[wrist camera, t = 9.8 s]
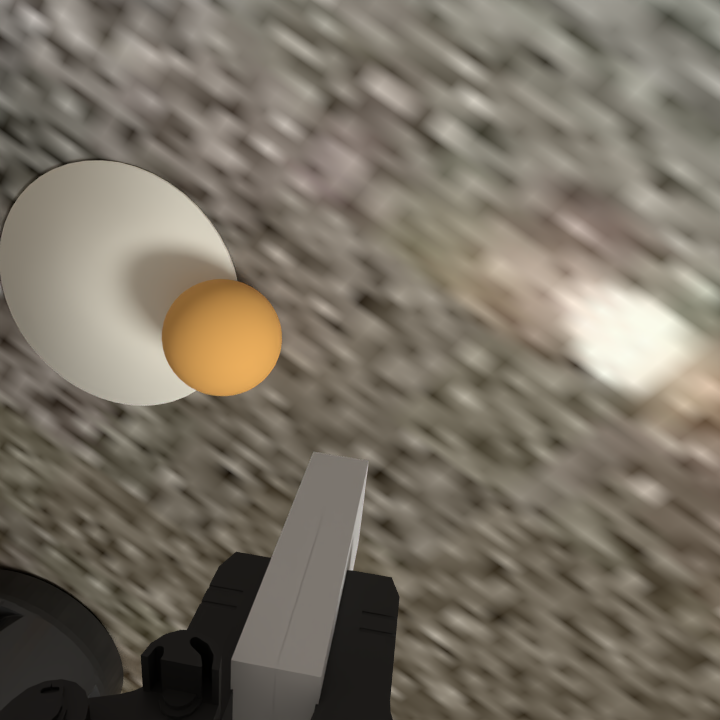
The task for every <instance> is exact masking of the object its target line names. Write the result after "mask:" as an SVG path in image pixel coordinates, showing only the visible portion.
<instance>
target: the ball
mask: <svg viewBox="0 0 720 720" xmlns="http://www.w3.org/2000/svg"><path fill="white" fill-rule="evenodd" d="M281 344H282V332H281V326H280V322H279V319H278V316H277V314H276V312H275V310H274V308H273V307H272V305H271V304H270V302H269V301H268V300H267V299H266V298H265V297H264V296H263V295H262V294H261V293H260V292H258V291H257V290H256V289H254V288H252V287H251V286H249V285H247V284H244V283H241V282H238V281H234V280H229V279H213V280H208V281H204V282H201V283H198V284H196V285H194V286H192V287H190V288H189V289H187V290H186V291H184V292H183V293H182V294H181V295H180V296H179V297H178V298H177V299H176V300H175V301H174V302H173V304H172V305H171V307H170V308H169V310H168V312H167V314H166V317H165V320H164V323H163V328H162V346H163V351H164V354H165V357H166V360H167V362H168V364H169V366H170V367H171V369H172V370H173V372H174V373H175V374H176V375H177V377H178V378H179V379H180V380H182V381H183V382H184V383H185V384H186V385H188V386H189V387H191V388H193V389H195V390H197V391H199V392H202V393H205V394H209V395H215V396H230V395H236V394H240V393H243V392H246V391H248V390H250V389H252V388H253V387H255V386H257V385H258V384H259V383H261V382H262V381H263V380H264V379H265V378H266V377H267V376H268V375H269V373H270V372H271V371H272V369H273V368H274V366H275V364H276V362H277V360H278V357H279V354H280V350H281Z"/></svg>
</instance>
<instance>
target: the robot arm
mask: <svg viewBox="0 0 720 720" xmlns="http://www.w3.org/2000/svg"><path fill="white" fill-rule="evenodd" d="M368 462H369V460H362V459H356V458H350V457H343V456H337V455H331V454H324V453H318V452H313V454H312V456H311V459H310V462H309V464H308V467H307V469H306V472H305V474H304V477H303V479H302V482H301V484H300V487H299V489H298V492H297V494H296V497H295V500H294V502H293V505H292V507H291V510H290V512H289V515H288V517H287V520H286V522H285V525H284V527H283V530H282V532H281V535H280V537H279V540H278V543H277V545H276V548H275V550H274V553H273V555H272V558H269V557H263V556H257V555H252V554H246V553H240V552H235V553H234V554H233V555H232V556H231V557H230V558H228V559H227V560H226V561H225V562H224V563H222V564H221V565H220V566H219V568H218V570H217V572H216V574H215V576H214V578H213V580H212V581H211V583H210V587H209V589H207V591H206V593H205V595H204V597H203V599H202V603H201V604H200V605H199V607H198V609H197V611H196V613H195V615H194V617H193V619H192V621H191V623H190V625H189V627H188V629H187V630H179V631H175V632H172V633H168V634H165V635H163V636H162V637H160V638H158V639H157V640H155V641H154V642H152V643H151V644H150V645H149V646H148V647H147V649H146V650H145V651H144V652H143V654H142V655H141V665H142V681H143V687H142V688H139V689H137V690H135V691H131V692H127V693H122V694H120V692H121V689H122V685H123V668H122V662H121V659H120V656H119V653H118V650H117V648H116V646H115V644H114V642H113V640H112V639H111V637H110V635H109V634H108V632H107V631H106V630H105V628H104V627H103V626H102V624H101V623H100V622H99V621H98V620H97V619H96V618H95V617H94V616H93V615H92V614H91V613H90V612H89V611H88V610H87V609H86V608H85V607H84V606H82V605H81V604H80V603H79V602H77V601H76V600H75V599H74V598H72V597H71V596H69V595H68V594H66V593H64V592H63V591H61V590H60V589H58V588H56V587H54V586H52V585H50V584H48V583H46V582H44V581H42V580H39V579H37V578H34V577H31V576H28V575H25V574H22V573H18V572H14V571H9V570H3V569H0V720H393V719H392V716H391V712H390V695H391V684H392V673H393V661H394V650H395V639H396V628H397V617H398V606H399V595H398V592H397V590H396V587H395V585H394V582H393V580H392V577H386V576H380V575H375V574H369V573H363V572H357V571H353V567H354V562H355V557H356V552H357V547H358V542H359V534H360V526H361V518H362V510H363V502H364V494H365V486H366V478H367V470H368Z"/></svg>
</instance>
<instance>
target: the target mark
mask: <svg viewBox="0 0 720 720" xmlns="http://www.w3.org/2000/svg"><path fill="white" fill-rule="evenodd" d="M0 276H1V283H2V287H3V291H4V295H5V299H6V302H7V304H8V307H9V309H10V312H11V315H12V317H13V319H14V320H15V322H16V324H17V326H18V328H19V330H20V331H21V333H22V335H23V336H24V338H25V339H26V341H27V342H28V344H29V345H30V346H31V347H32V348H33V350H34V351H35V352H36V353H37V355H38V356H39V357H40V358H41V359H42V360H43V361H44V362H45V363H46V364H47V365H48V366H49V367H50V368H51V369H53V370H54V371H55V372H56V373H57V374H59V375H60V376H61V377H62V378H64V379H65V380H67V381H68V382H70V383H71V384H73V385H74V386H76V387H78V388H80V389H82V390H84V391H86V392H87V393H90V394H92V395H95V396H97V397H100V398H102V399H105V400H109V401H112V402H116V403H121V404H128V405H143V406H147V405H158V404H164V403H168V402H172V401H175V400H178V399H180V398H183V397H186V396H188V395H189V394H191V393H193V392H195V391H196V390H195V389H193V388H191V387H189V386H188V385H186V384H185V383H184V382H183V381H182V380H180V379H179V378H178V377H177V375H176V374H175V373H174V372H173V370H172V369H171V367H170V366H169V364H168V362H167V360H166V357H165V354H164V351H163V346H162V328H163V323H164V320H165V317H166V314H167V312H168V310H169V308H170V307H171V305H172V304H173V302H174V301H175V300H176V299H177V298H178V297H179V296H180V295H181V294H182V293H183V292H184V291H186V290H187V289H189V288H190V287H192V286H194V285H196V284H198V283H201V282H204V281H208V280H213V279H229V280H234V281H238V280H237V276H236V272H235V268H234V265H233V262H232V260H231V257H230V254H229V252H228V250H227V248H226V246H225V244H224V242H223V240H222V238H221V236H220V234H219V233H218V231H217V230H216V228H215V227H214V225H213V224H212V222H211V221H210V220H209V218H208V217H207V216H206V215H205V214H204V213H203V211H202V210H201V209H200V208H199V207H198V206H197V205H196V204H195V203H194V202H193V201H192V200H191V199H190V198H189V197H188V196H187V195H186V194H184V193H183V192H182V191H180V190H179V189H178V188H176V187H175V186H174V185H172V184H171V183H170V182H168V181H166V180H164V179H162V178H161V177H159V176H157V175H155V174H154V173H151V172H149V171H146V170H144V169H141V168H139V167H136V166H132V165H128V164H125V163H121V162H114V161H105V160H92V161H81V162H75V163H70V164H66V165H63V166H61V167H58V168H55V169H53V170H51V171H49V172H47V173H45V174H44V175H42V176H40V177H39V178H38V179H36V180H35V181H34V182H33V183H31V184H30V185H29V186H28V187H27V188H26V189H25V190H24V191H23V192H22V194H21V195H20V196H19V197H18V199H17V200H16V202H15V203H14V205H13V206H12V208H11V210H10V212H9V214H8V217H7V219H6V221H5V224H4V228H3V232H2V235H1V241H0Z"/></svg>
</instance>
